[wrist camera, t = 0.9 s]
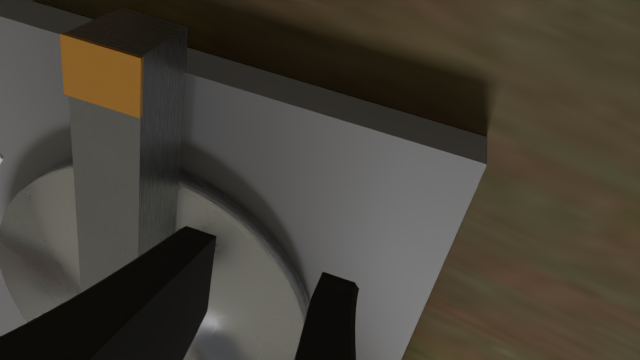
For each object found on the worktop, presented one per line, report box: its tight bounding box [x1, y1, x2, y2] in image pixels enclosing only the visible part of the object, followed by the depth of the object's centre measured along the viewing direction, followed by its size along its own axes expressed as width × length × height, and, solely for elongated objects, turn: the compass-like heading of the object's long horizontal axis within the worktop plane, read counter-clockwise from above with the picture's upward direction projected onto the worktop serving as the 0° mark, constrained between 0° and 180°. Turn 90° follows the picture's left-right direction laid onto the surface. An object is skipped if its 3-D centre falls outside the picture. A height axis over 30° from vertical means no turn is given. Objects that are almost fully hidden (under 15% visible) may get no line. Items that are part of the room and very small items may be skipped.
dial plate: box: [0, 0, 487, 360], centre depth 24 cm, size 20×20×2 cm
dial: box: [0, 7, 309, 360], centre depth 20 cm, size 18×13×4 cm
